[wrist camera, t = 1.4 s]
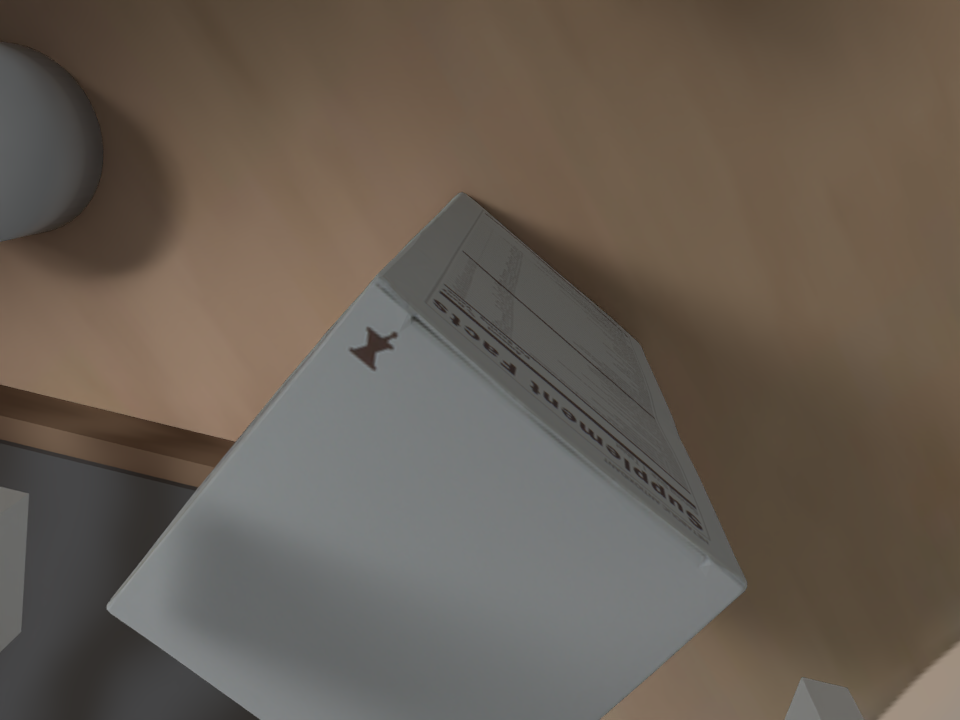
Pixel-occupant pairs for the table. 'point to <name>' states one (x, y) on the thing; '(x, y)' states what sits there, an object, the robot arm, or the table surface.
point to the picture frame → (96, 561)
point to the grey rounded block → (43, 144)
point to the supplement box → (445, 509)
